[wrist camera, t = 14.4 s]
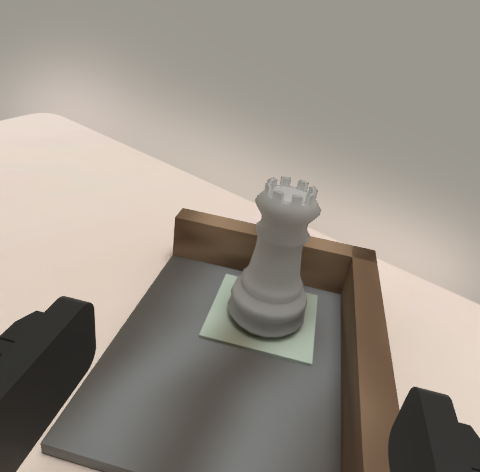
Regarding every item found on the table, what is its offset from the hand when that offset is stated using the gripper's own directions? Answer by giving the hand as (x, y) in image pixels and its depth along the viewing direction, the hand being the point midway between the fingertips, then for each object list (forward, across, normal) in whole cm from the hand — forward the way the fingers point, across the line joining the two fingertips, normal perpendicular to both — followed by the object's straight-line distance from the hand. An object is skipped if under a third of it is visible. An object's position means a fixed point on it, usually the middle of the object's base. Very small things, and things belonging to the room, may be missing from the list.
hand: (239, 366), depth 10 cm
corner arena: (+9, 0, +8) cm, 12 cm away
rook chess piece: (+11, 0, +8) cm, 14 cm away
